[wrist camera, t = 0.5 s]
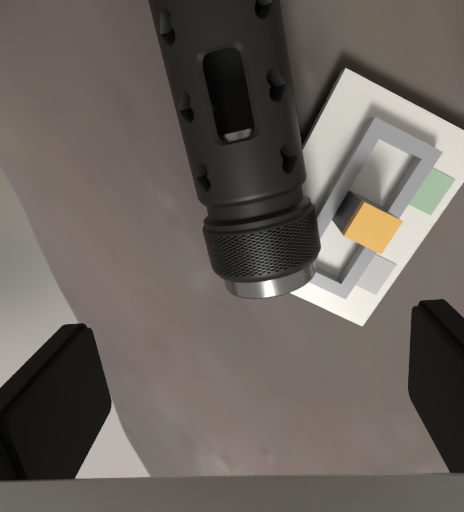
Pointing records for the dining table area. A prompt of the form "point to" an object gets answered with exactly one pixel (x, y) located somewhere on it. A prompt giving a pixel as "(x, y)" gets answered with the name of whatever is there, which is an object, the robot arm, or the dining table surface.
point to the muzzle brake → (241, 140)
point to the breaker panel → (374, 187)
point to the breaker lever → (366, 222)
